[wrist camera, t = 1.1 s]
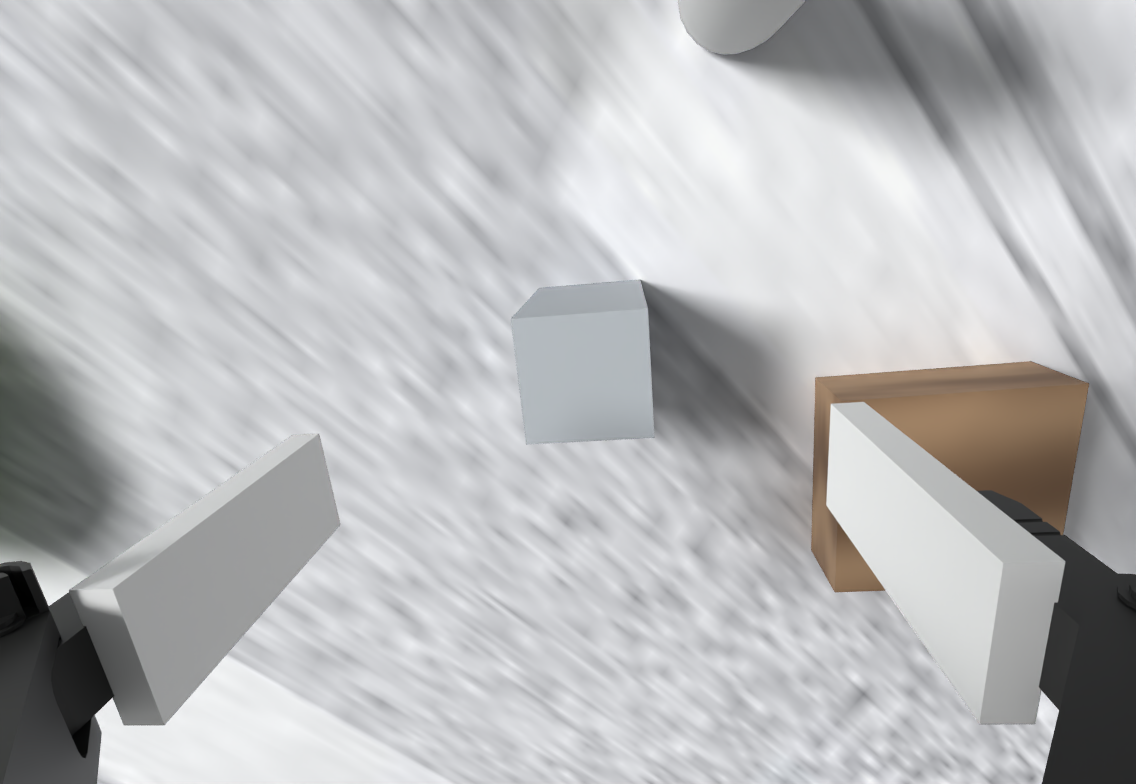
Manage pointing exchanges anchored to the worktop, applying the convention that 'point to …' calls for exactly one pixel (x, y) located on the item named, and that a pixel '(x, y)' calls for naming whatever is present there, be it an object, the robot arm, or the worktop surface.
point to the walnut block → (959, 441)
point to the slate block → (584, 363)
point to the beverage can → (734, 22)
